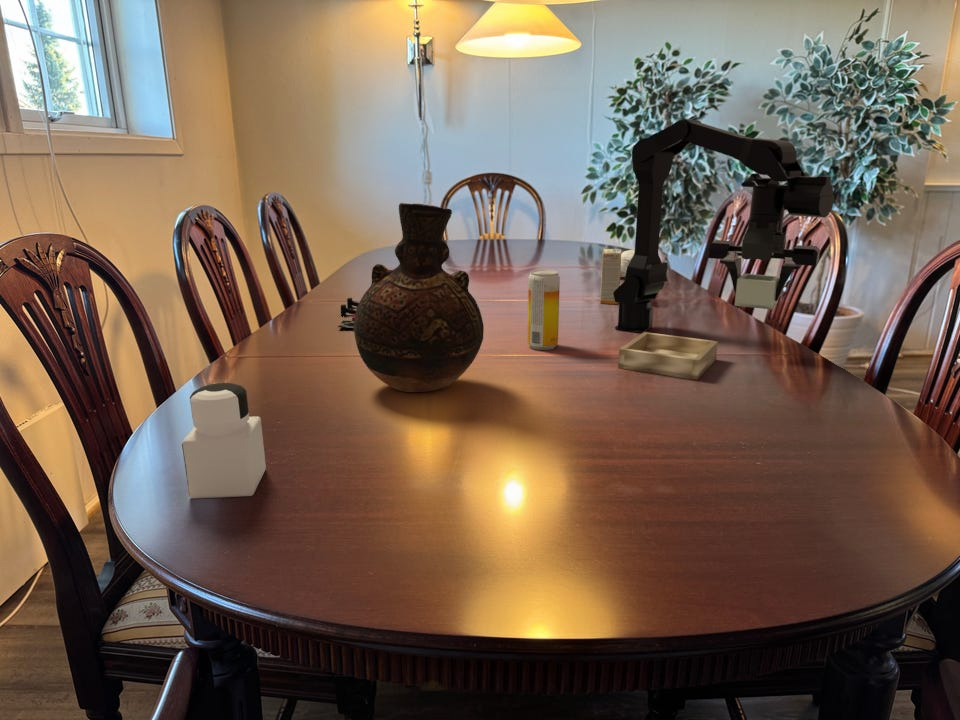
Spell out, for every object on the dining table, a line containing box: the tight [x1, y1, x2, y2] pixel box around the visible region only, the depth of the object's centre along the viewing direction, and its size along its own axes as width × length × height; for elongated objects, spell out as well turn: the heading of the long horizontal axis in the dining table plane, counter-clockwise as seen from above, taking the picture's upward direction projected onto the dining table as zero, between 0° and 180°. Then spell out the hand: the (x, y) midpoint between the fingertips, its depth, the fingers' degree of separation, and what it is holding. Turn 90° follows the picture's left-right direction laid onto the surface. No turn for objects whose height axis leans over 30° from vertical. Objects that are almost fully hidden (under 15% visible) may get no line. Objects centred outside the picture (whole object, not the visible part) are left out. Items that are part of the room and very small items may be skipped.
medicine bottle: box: [181, 382, 267, 499], centre depth 79 cm, size 7×7×12 cm
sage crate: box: [734, 273, 780, 310], centre depth 127 cm, size 6×6×5 cm
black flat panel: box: [337, 297, 359, 329], centre depth 164 cm, size 30×3×15 cm
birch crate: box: [617, 331, 719, 381], centre depth 125 cm, size 14×14×4 cm
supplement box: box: [599, 248, 622, 305], centre depth 176 cm, size 8×5×13 cm, turn 168°
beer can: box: [527, 269, 561, 351], centre depth 135 cm, size 6×6×15 cm
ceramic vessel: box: [353, 202, 485, 393], centre depth 110 cm, size 21×18×30 cm
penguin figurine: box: [620, 249, 635, 275], centre depth 209 cm, size 6×8×12 cm
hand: (756, 298), depth 128 cm, fingers closed on sage crate, 6 cm apart
